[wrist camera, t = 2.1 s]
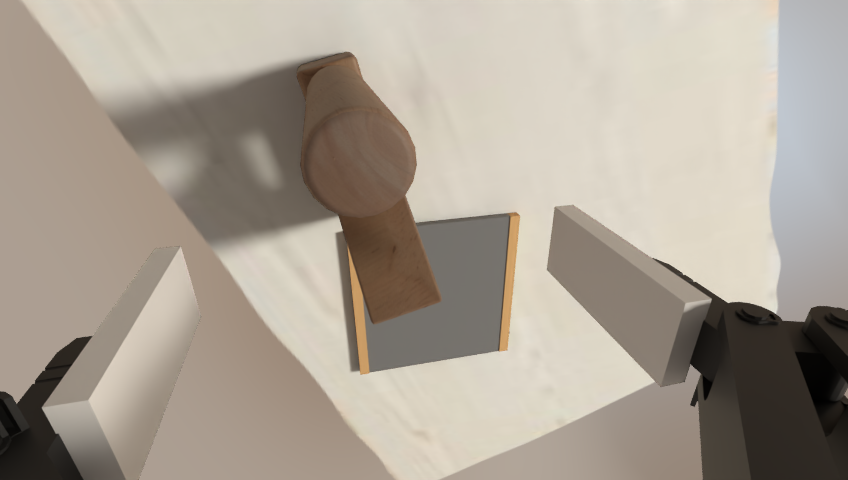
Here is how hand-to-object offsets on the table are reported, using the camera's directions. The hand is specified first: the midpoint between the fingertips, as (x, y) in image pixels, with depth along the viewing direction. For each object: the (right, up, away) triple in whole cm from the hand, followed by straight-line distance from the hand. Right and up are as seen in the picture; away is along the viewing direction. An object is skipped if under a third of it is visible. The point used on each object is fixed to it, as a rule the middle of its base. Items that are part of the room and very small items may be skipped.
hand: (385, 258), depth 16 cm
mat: (+2, -4, +22) cm, 23 cm away
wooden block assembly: (-4, +8, +15) cm, 18 cm away
